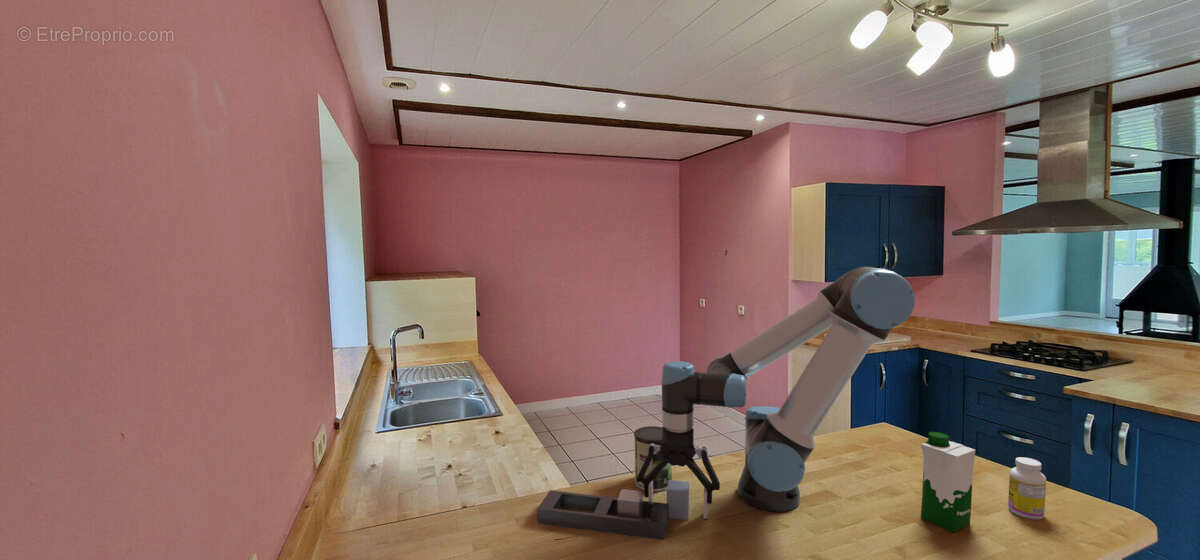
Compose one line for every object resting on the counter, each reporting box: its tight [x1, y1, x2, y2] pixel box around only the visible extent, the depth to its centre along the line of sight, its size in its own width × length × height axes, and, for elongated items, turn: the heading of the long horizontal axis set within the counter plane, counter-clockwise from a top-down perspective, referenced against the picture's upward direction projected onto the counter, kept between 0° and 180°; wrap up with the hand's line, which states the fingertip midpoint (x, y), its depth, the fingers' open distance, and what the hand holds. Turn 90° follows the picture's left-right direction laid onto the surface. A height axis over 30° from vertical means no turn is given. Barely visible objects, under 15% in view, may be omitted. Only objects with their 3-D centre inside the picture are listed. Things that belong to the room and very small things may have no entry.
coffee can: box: [633, 425, 673, 493], centre depth 135 cm, size 10×10×14 cm
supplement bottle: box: [1007, 456, 1047, 520], centre depth 118 cm, size 7×7×13 cm
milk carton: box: [920, 431, 976, 533], centre depth 115 cm, size 9×9×20 cm
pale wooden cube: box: [617, 488, 644, 520], centre depth 116 cm, size 5×5×7 cm
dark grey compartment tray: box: [536, 490, 670, 541], centre depth 117 cm, size 30×9×4 cm, turn 76°
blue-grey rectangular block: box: [666, 479, 690, 521], centre depth 120 cm, size 5×5×7 cm
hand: (677, 512), depth 120 cm, fingers open, 12 cm apart
